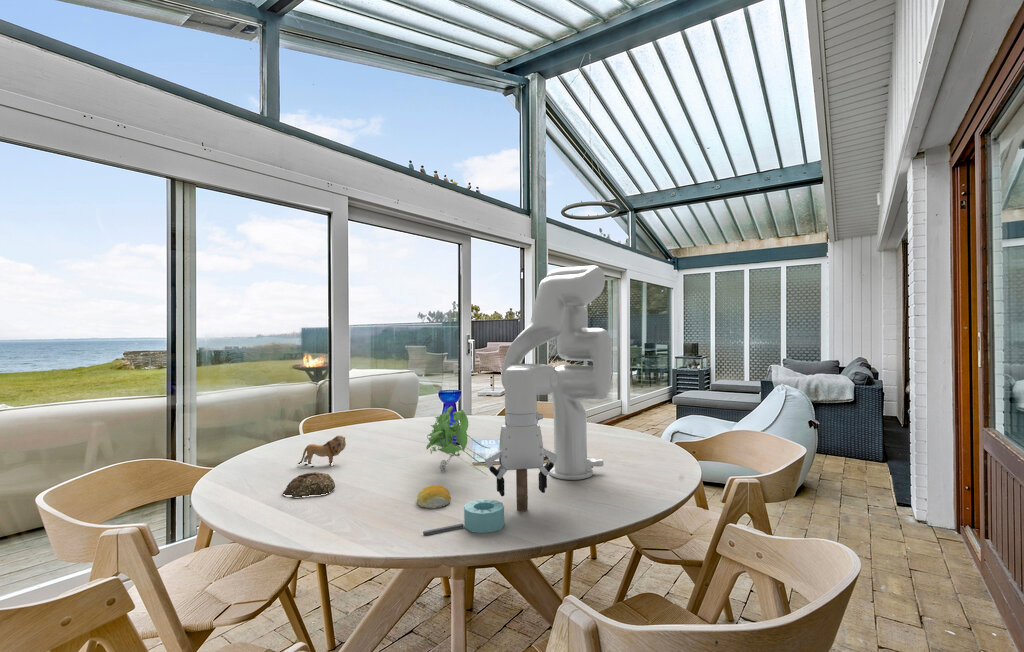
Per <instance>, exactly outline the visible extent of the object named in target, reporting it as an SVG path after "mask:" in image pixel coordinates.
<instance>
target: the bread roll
mask: <svg viewBox="0 0 1024 652" xmlns="http://www.w3.org/2000/svg"><path fill="white" fill-rule="evenodd" d="M451 500H452V496H451V493H450V491H449V490H448V489H447V488H446V487H445V486H443V485H440V484H431V485H428V486H426V487H424V488H423V489H422V490H420V491H418V493H417V496H416V502H417V504H418V506H419V505H420V507H421V508H424V507H425V508H424V509H435V508H434V507H439V508H443V507H446V506H447V505H449V504H450V503H451ZM448 503H449V504H448ZM445 505H446V506H445ZM442 506H443V507H442Z"/></svg>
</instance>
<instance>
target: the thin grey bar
mask: <svg viewBox="0 0 1024 652" xmlns="http://www.w3.org/2000/svg"><path fill="white" fill-rule="evenodd" d="M463 528H464V529H465V525H464V523H457V524H453V525H448V526H443V527H438V528H433V529H428V530H423V531H422V534H423V536H428V535H433V533H435V534H438V532H439V533H444V532H449V531H454V530H459V529H463ZM443 531H444V532H443Z"/></svg>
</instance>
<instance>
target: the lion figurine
mask: <svg viewBox="0 0 1024 652" xmlns="http://www.w3.org/2000/svg"><path fill="white" fill-rule="evenodd" d="M346 446H347V444H346V437H345V436H343V435H336V436H334V438H332V439H330V440H328V441H327V442H326V443H324V444H315V443H311V444H308V445H307V446H306V447H305V449H304V450H303V453H302V458H301V459H300V462H298V463H297V464H300V463H301V464H302V463H304V462H308V465H309V464H312V458H313V456H314V455H315V456H317V457H320V458H321V457H322V458H323V457H328V464H329V463H330V464H331V463H332V462H334V461H333V460H334V457H336V456H339V455H340V453H341V452H343V451H344V449H345V448H346ZM301 464H300V465H301ZM330 464H329V465H330Z"/></svg>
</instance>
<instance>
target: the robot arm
mask: <svg viewBox="0 0 1024 652" xmlns="http://www.w3.org/2000/svg"><path fill="white" fill-rule="evenodd" d="M605 283H606V277H605V273H604V271H603V269H602V268H601V267H599V266H597V265H583V266H568V267H559V268H555V269H552V270H550V271H549V272H548V273H546V277H544V278H543V279H542V280H541V281H540V283H539V285H538V287H537V292H536V296H535V301H534V304H533V308H532V314H531V318H530V323H529V325H528V326H527V327H526V328H525V329H524V330H522V331H521V332H520V333H519V334H518V335H517V336H516V338H515V339H514V340H513V341H512V342H511V343H510V345H509V347H508V349H507V351H506V353H505V357H504V362H503V365H502V370H501V385H502V387H503V389H504V424H502V425H501V427H500V428H501V429H500V434H499V443H498V444H499V446H498V451H495V452H494V453H492V454H491V455H489V456H488V457H486V458H484V462H485V465H486V466H488V467H487V468H488V470H489V471H490V473H491V474H492V475H493V476H495V478H496V491H497V492H498V493H499V495H500V496H501V497H504V496H505V494H506V493H505V478H504V476H505V474H506V473H507V472H508V471H516V470H522V469H527V470H531V469H538V470H539V472H538V490H539V491H540V493H542V494H545V493H546V489H547V488H548V478H547V477H548V475H550V476H552V477H553V478H555V479H560V480H567V481H569V480H571V481H574V480H584V479H589V478H591V477H592V476H593V474H594V473H593V472H594V471H593V468H594V467H595V468H599V467H604V460H603V459H596V458H589V457H588V443H587V442H588V435H587V433H588V432H587V431H588V430H587V429H588V427H587V425H588V424H587V418H588V417H587V411H586V409H585V406H584V405H583V403H582V402H581V401H580V399H581V400H582V399H583V400H585V399H586V400H604V399H606V398H607V397H608V396H609V394H610V391H611V385H612V383H611V382H612V359H613V357H612V356H613V343H612V339H611V336H610V333H609V332H608V331H607V330H606V329H604V328H600V327H588V324H587V323H588V311H587V309H586V307H585V306H587V305H589V304H591V303H592V302H593V301H594V300H595V299H596V298H597V297H599V296H600V295H601V294H602V292H603V290H604V288H605V285H606V284H605ZM556 338H557V340H556V351H557V355H558V357H559V358H560V359H562V360H566V361H577V362H578V361H579V362H580V361H581V362H582V361H583V362H584V361H585V362H592V364H593V365H582V364H562V365H559V366H555V368H554V366H552V365H549V364H545V363H523V360H524V359H525V357H526V355H528V353H530V352H531V351H532V350H534V349H535V348H538V347H539V346H541V345H543V344H546V343H548V342H550V341H553V340H554V339H556ZM550 394H551V396H552V404H553V407H552V408H553V449H554V450H553V452H552V451H550V450H548V449H546V448H544V442H543V435H542V430H541V426H540V424H539V421H540V420H544V414H543V413H539V412H538V401H537V400H538V398H537V397H538V396H541V395H543V396H547V395H550ZM545 456H546V457H548V458H549V459H548V462H546V464H544V463H545ZM497 460H498V463H499V466H498V468H496V467H495V466H494V465H493V463H494V462H495V461H497Z"/></svg>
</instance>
